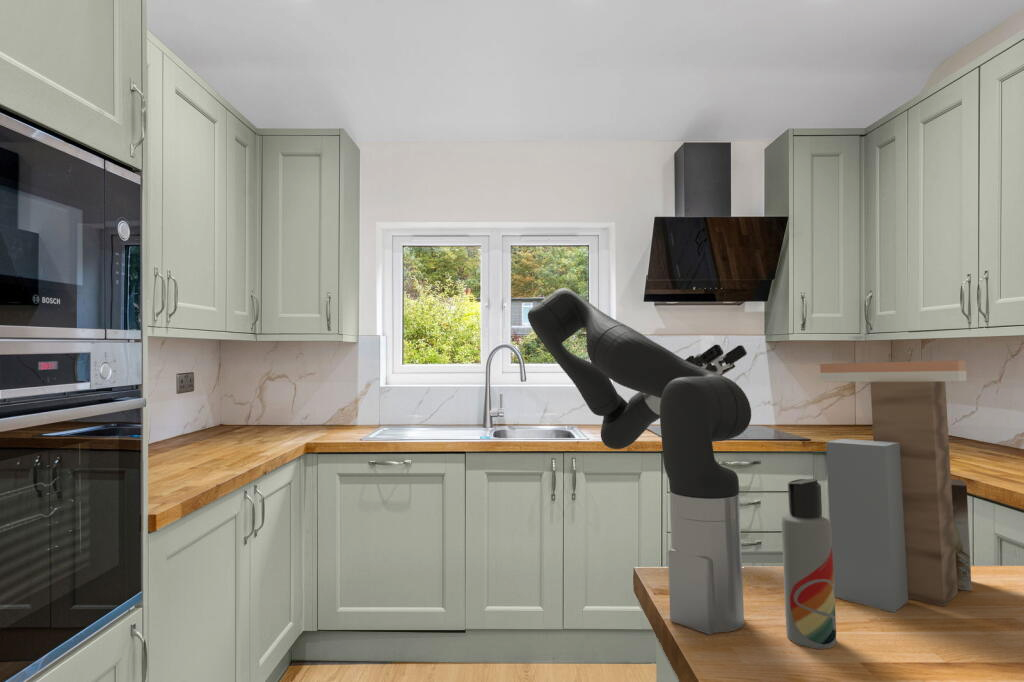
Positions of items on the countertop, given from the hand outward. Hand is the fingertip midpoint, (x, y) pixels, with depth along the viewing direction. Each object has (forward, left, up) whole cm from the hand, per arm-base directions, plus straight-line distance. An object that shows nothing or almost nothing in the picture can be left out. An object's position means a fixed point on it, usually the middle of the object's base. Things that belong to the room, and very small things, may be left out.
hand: (732, 348), depth 112 cm
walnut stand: (+2, -28, -38) cm, 47 cm away
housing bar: (+2, -25, -6) cm, 26 cm away
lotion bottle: (-26, -24, -39) cm, 52 cm away
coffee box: (+10, -28, -39) cm, 49 cm away
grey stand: (-6, -24, -38) cm, 46 cm away
